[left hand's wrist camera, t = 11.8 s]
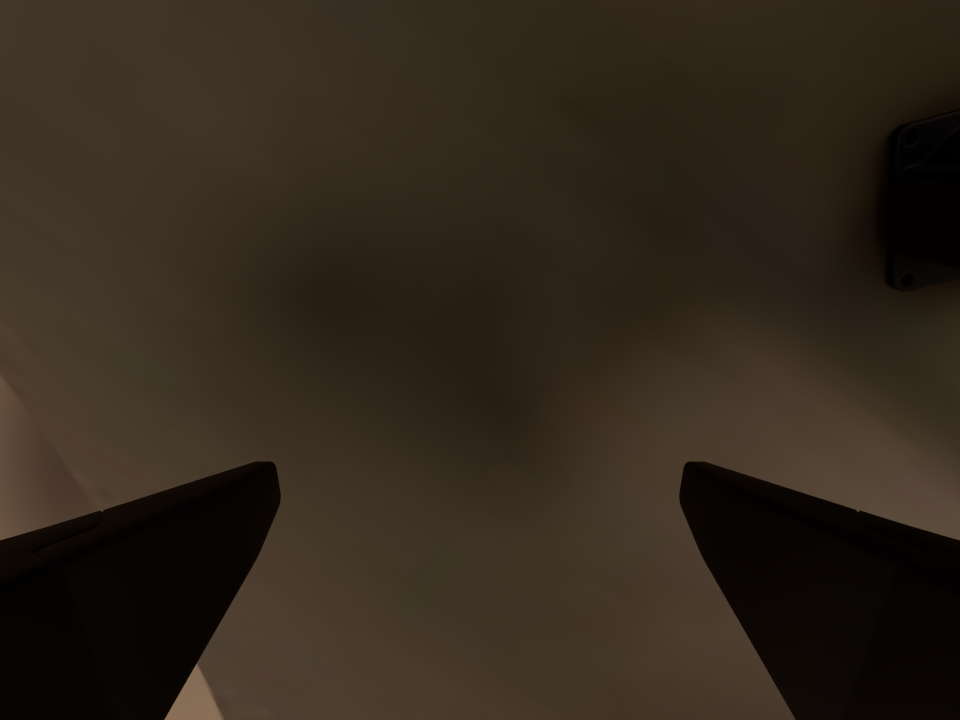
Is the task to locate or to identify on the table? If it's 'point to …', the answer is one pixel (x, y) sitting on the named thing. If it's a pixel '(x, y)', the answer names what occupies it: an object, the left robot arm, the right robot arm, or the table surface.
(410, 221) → the table surface
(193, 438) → the table surface
